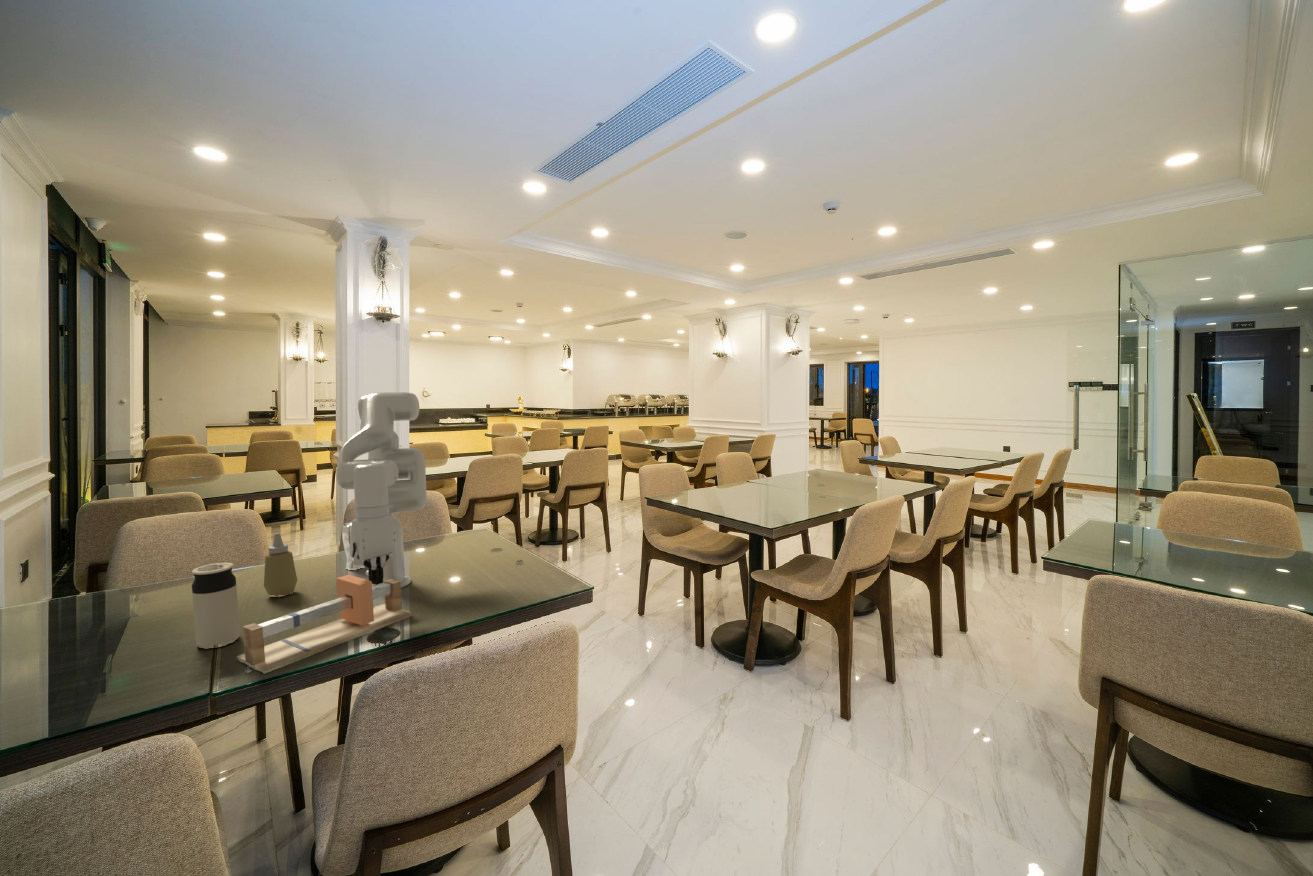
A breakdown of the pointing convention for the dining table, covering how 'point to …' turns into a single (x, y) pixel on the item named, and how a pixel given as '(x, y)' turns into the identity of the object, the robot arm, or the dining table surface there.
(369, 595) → the collar
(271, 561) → the squeeze bottle
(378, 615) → the pipe stand
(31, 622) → the dining table surface
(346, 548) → the beer glass
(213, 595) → the travel mug
